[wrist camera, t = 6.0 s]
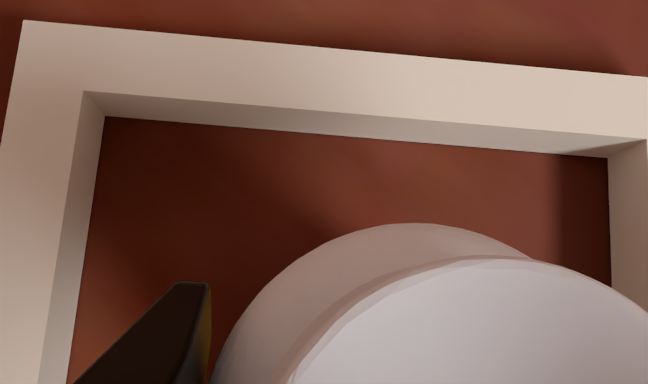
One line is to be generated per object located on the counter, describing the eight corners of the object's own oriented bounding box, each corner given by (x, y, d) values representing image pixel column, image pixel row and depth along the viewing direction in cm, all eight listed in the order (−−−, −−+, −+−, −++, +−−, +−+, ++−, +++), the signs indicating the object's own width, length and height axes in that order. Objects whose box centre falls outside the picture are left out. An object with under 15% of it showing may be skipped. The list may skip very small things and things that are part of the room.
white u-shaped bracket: (690, 663, 14) (750, 713, 12) (-49, 637, 13) (-99, 687, 11) (661, 107, 17) (705, 82, 15) (51, 52, 16) (23, 19, 14)
